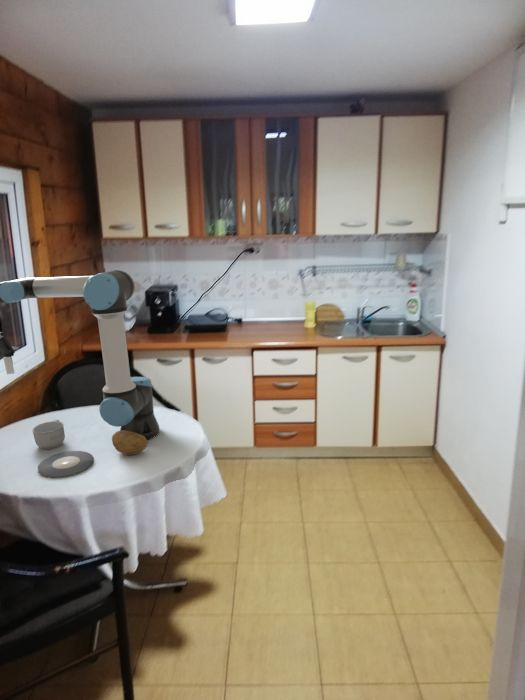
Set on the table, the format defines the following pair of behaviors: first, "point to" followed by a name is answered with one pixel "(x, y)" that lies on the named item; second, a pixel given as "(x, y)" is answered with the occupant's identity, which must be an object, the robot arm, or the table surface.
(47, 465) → the saucer
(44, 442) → the teacup
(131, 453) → the potato
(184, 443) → the table surface
